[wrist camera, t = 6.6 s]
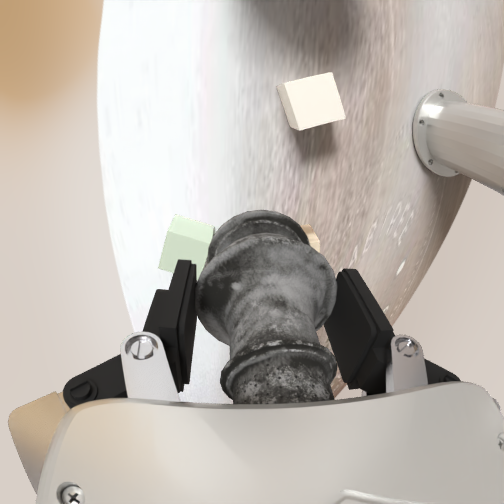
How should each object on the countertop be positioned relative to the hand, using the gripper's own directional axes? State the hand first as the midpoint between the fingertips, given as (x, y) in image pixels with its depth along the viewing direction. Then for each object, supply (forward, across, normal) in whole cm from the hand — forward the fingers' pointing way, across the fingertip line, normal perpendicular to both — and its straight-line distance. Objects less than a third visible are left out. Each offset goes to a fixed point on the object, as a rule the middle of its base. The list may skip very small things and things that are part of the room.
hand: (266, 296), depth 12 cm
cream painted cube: (+24, -6, -9) cm, 26 cm away
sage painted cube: (+23, +6, +9) cm, 26 cm away
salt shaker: (+3, 0, 0) cm, 3 cm away
